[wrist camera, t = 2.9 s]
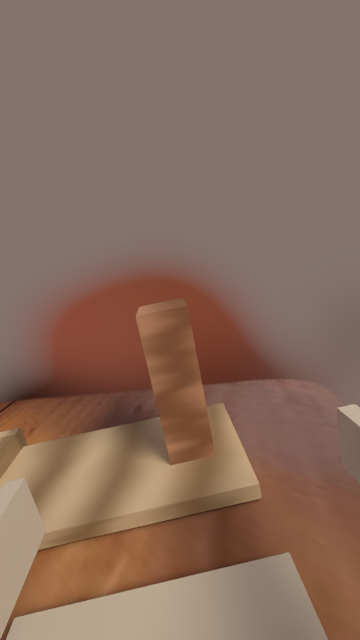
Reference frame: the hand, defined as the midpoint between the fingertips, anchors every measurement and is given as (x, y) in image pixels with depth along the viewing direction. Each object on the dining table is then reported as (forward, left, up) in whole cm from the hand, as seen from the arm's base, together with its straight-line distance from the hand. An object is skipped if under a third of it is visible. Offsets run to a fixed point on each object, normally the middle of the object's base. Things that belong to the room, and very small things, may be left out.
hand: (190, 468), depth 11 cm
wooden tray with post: (-12, +10, -8) cm, 17 cm away
